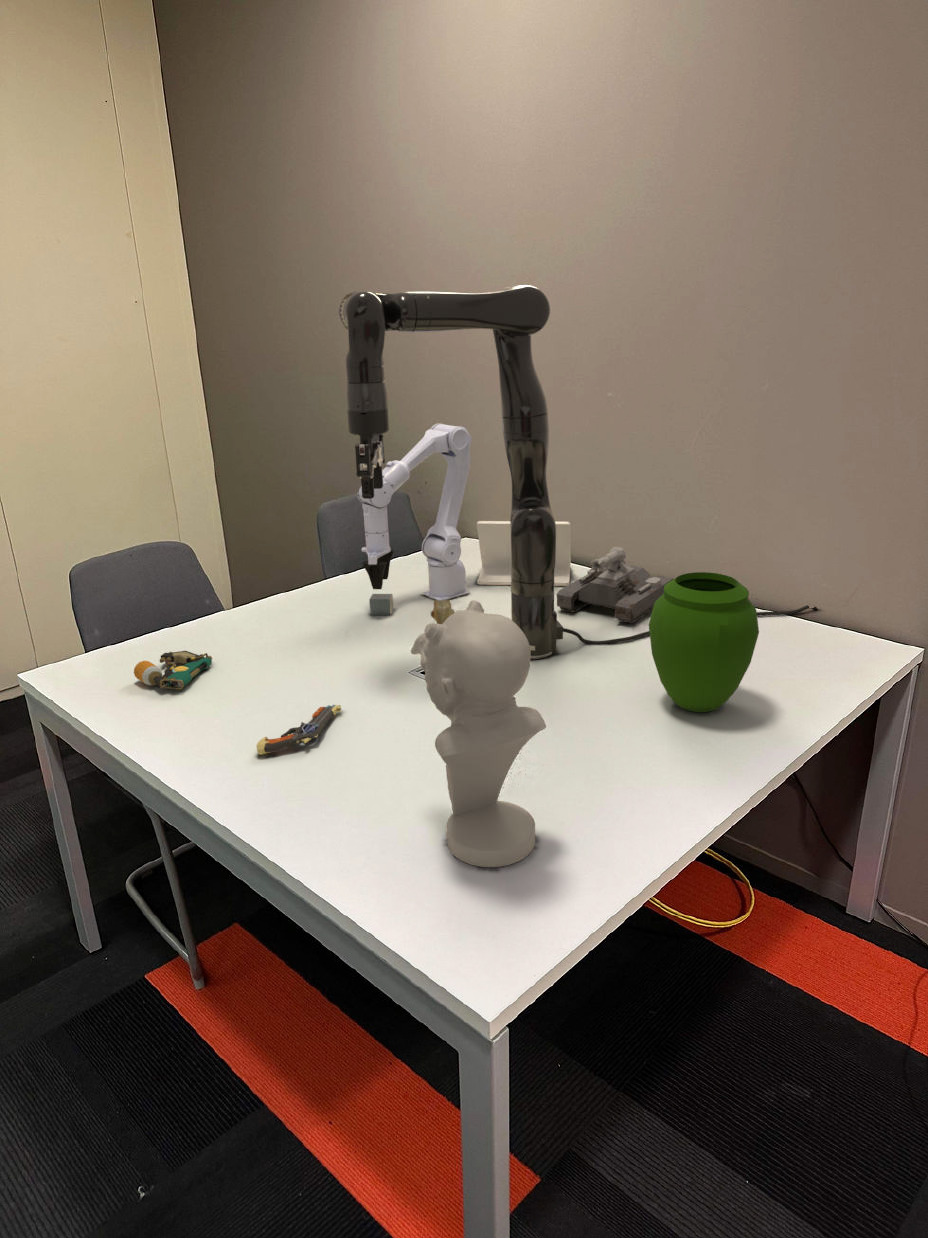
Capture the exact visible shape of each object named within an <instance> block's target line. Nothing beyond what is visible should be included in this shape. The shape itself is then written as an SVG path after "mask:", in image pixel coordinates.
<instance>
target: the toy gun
mask: <svg viewBox="0 0 928 1238" xmlns="http://www.w3.org/2000/svg"><path fill="white" fill-rule="evenodd" d="M341 711H342V705H340V704H332V705H327V706H319V707H318V708H317V709H316V710H315V712H313V714H312V715H311V716H312V719H311V720H310V721H308V722H306V723H305V722H303V721H301V722H300V725H299V726H298V727H296V726H294V727H291V728H289V729H288V730H287V731H286V732H284V733H282V734H281V735H280V737H277V738H268V737H267V736H264V737H263V738H261V739H260V740H258V742H257V743H256V752H257V754H258V755H260V756H261V755H266V754H269V753H273V752H277V751H281V750H284V749H287V748H292V747H294V746H297V745H301V744H303V743H304V744H308V743H309V742H310V741H311V740H314V739H316V738H318V736H319V735H320V734H322V732H323V731H324V729H325V728H326V725H327V724H328V723H329V722H330V721H331V719H333V717H334V716H336V715H337V713H339V712H341Z"/></svg>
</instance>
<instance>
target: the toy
mask: <svg viewBox="0 0 928 1238" xmlns="http://www.w3.org/2000/svg"><path fill="white" fill-rule="evenodd" d="M626 557H627V556H626V551H625V549H624V548H622V547H621V546H614V547H612V548H611V549H610V550H609V552H608V553H607V554H605V555H604V556H601V557H599V558H598V559H597V557H596V558H594V559H593V560H592V561H590V562H589V563H590V564H591V565H592V567H591V568H590V569H589V570H587V573H586V575H584V576H582V577H580V578H578V579H577V580H575V581H573V582H570V583H569V585H567V586H563V587H562V588H560V589H559V590H558V591H557V592H556V607H558V608H559V609H560V610H562V611H566V612H572V613H575V612H577V611H579V610H581V609H582V608H585V607H586V606H588V605H592V606H598V607H602V608H603V607H604V608H609V609H613V610H614V618H615V619H617V620H618V621H621V622H626V623H631V624H634V623H635V622H637V621H638V620H640V619H641V618H642V617H644V616H645V615H647V614H648V613H650V612H652V610H653V606H654V603H655V602H656V601H657V599H659V598H660V597H661V596H662V595H663V594H664V586H665V585H666V584H667V583H668V582H670V581H672V580H673V579H675V578H673V577H668V576H663V575H656V576H655V577H654V576H651V574H650V573H649V572H648V571H647V570H646V568H644V567H641V566H635V565H629V564H628V563H627V562H626V561H625V559H626Z"/></svg>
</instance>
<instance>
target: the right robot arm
mask: <svg viewBox="0 0 928 1238" xmlns="http://www.w3.org/2000/svg"><path fill="white" fill-rule="evenodd" d="M336 312H337V313H336V314H337V318H338V320H339V323H340V324H341V326H342V327H343V328H345V329H346V330H347V331H348V332H347V334H348V336H347V337H348V349H347V351H346V352H345V356H344V369H345V381H346V383H345V384H346V387H345V388H346V390H345V400H346V412H347V413H346V414H347V415H346V416H347V427H348V433H349V434H351V435H353V436H357V435H358V436H359V443H355V445H354V449H355V467H356V473H355V474H356V477H357V478H359V479H360V484H361V485H360V487H362V497H363V498H364V499H372V498H373V497H374V489H381V488H382V487H383V475H382V470H383V469H384V468H385V462H386V458H385V445H384V434H386V433H388V432H389V431H390V423H389V407H388V405H389V404H388V392H387V387H386V381H385V378H386V377H385V363H384V348H385V340H386V332H394V331H395V332H399V333H439V332H450V331H451V332H452V331H462V330H492V335H493V339H494V344H495V349H496V356H497V363H498V374H499V375H498V377H499V389H500V391H499V393H500V403H501V405H500V406H501V422H502V435H503V443H504V449H505V454H506V458H507V459H506V460H507V464H508V467H509V471H510V478H511V509H510V520H509V521H510V525H511V585H510V588H511V589H510V597H511V599H510V603H511V604H510V606H511V607H510V609H511V610H510V615H511V617H510V619H511V620H512V621H513V622H514V623H515V624H516V625H517V626H518V627H519V628H520V629H521V630H522V632H523V633H524V634H525V636H526V638H527V640H528V643H529V646H530V652H531V653H530V655H531V656H530V660H540V659H545V658H548V657H550V656H552V655H557V654H558V653H557V650H558V649H557V648H558V647H557V645H558V644H557V643H558V641H560V640H564V633H566V634H570V635H573V636H575V637H576V638H577V639H578V640H579V641H580V642H582V643H584V644H587V645H610V644H616V643H617V644H618V643H622V642H623V643H624V642H628V641H632V640H637V639H639V638H642V637H647V636H650V632H649V630H647V631H643V632H641V633H637V634H634V635H630V636H626V637H625V636H624V637H619V638H612V639H606V640H590V639H585V638H583V636H582V635H581V634H580V633H579V632H577V631H575V630H573V629H569V628H566V627H564V626H563V625H562V624H561V623H560V622H559V620H558V613H557V612H556V611H555V586H554V571H555V558H556V524H555V522H556V521H555V518H554V514H553V511H552V507H551V502H550V495H549V490H548V481H547V466H548V458H549V457H548V455H549V443H550V431H549V430H550V427H549V426H550V425H549V412H548V410H549V409H548V403H547V399H546V394H545V392H544V390H543V386H542V384H541V381H540V379H539V376H538V373H537V371H536V367H535V363H534V360H533V352H532V335H535V334H538V333H539V332H541V331H542V329H544V327H545V326H546V325H547V323H548V321H549V319H550V314H551V306H550V302H549V299H548V297H547V295H546V294H545V293H544V292H543V291H542V290H541V289H539V288H537V287H536V286H533V285H529V284H522V285H521V284H519V285H511V286H506V287H504V288H502V289H500V290H498V291H493V292H482V293H481V292H479V293H477V292H476V293H471V292H470V293H469V292H468V293H467V292H466V293H465V292H463V293H462V292H448V291H447V292H445V291H400V292H393V293H392V292H391V293H386V292H371V291H365V290H363V291H352V292H349V293H347V294H345V295H344V296H343V297H342V298H341V299H340V300H339V303H338V305H337V311H336ZM808 605H809V604H807V605H804V606H802V607H800V608H797V609H792V610H779V611H756V612H757V617H758V616H760V617H761V616H784V615H785V616H786V615H787V616H788V615H795V614H798V613H801V612H804V611H806V610H809V609H810V608H809V606H808ZM811 610H813V611H816V612H817V611H818V612H819V608H818V607H817V606H815V607H814V608H811Z"/></svg>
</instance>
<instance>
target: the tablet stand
mask: <svg viewBox="0 0 928 1238" xmlns="http://www.w3.org/2000/svg"><path fill="white" fill-rule="evenodd" d="M555 524H556V558H555V571H554V587H556V586H557V587H566V586H567V585H569V584H570V580H571V579H570V578H571V565H572V564H571V560H572V558H571V522H569V521H555ZM476 531H477V537H478V544H479V551H480V557H481V558H480V559H481V570H480V573H479V575H478V577H477V580H476V581H477V582H476V584H478V585H484V586H485V585H486V586H487V585H489V586H490V585H491V586H511V525H510V520H505V521H504V520H477V522H476Z"/></svg>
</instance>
